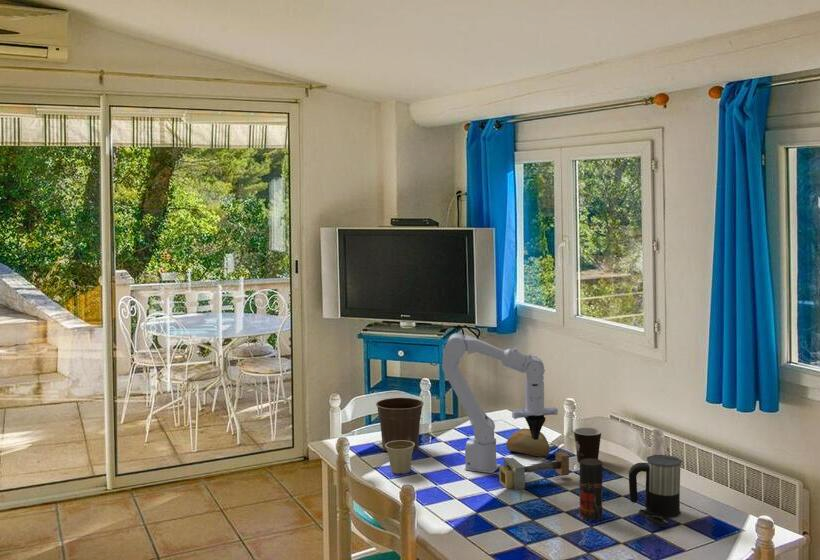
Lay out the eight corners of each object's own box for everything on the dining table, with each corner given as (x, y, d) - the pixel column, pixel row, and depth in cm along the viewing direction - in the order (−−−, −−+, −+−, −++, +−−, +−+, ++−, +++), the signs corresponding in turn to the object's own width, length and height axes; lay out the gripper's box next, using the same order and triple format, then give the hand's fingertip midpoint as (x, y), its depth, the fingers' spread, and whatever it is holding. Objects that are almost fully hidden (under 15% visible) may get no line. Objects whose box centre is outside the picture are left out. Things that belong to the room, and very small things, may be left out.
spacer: (506, 488, 255) (506, 472, 255) (499, 482, 261) (499, 466, 260) (512, 487, 256) (512, 471, 255) (505, 481, 261) (505, 465, 261)
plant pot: (403, 438, 307) (402, 394, 305) (434, 448, 295) (433, 402, 293) (367, 448, 297) (366, 402, 295) (397, 459, 285) (396, 411, 283)
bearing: (515, 489, 254) (515, 468, 253) (503, 479, 263) (503, 458, 262) (524, 488, 255) (524, 467, 254) (513, 478, 264) (512, 457, 263)
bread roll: (512, 446, 296) (512, 424, 295) (554, 452, 288) (554, 429, 288) (501, 454, 287) (501, 431, 286) (544, 460, 280) (544, 436, 279)
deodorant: (577, 512, 236) (577, 458, 234) (598, 510, 236) (598, 457, 235) (583, 520, 230) (583, 465, 228) (605, 519, 230) (605, 464, 229)
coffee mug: (601, 466, 273) (601, 435, 272) (573, 465, 275) (573, 434, 274) (600, 454, 284) (600, 425, 283) (574, 453, 286) (574, 424, 285)
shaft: (520, 480, 257) (520, 461, 256) (515, 475, 261) (514, 456, 260) (568, 475, 261) (568, 455, 260) (562, 470, 265) (562, 451, 264)
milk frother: (672, 505, 239) (673, 453, 238) (698, 527, 224) (699, 471, 222) (623, 508, 238) (623, 456, 236) (645, 531, 222) (646, 475, 220)
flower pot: (380, 474, 270) (380, 447, 269) (392, 464, 279) (392, 439, 278) (408, 477, 267) (408, 450, 266) (419, 467, 275) (419, 441, 274)
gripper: (517, 401, 263) (518, 444, 265) (561, 397, 267) (561, 440, 268) (509, 396, 270) (509, 438, 271) (552, 392, 274) (552, 433, 275)
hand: (535, 438), depth 270 cm, fingers closed
